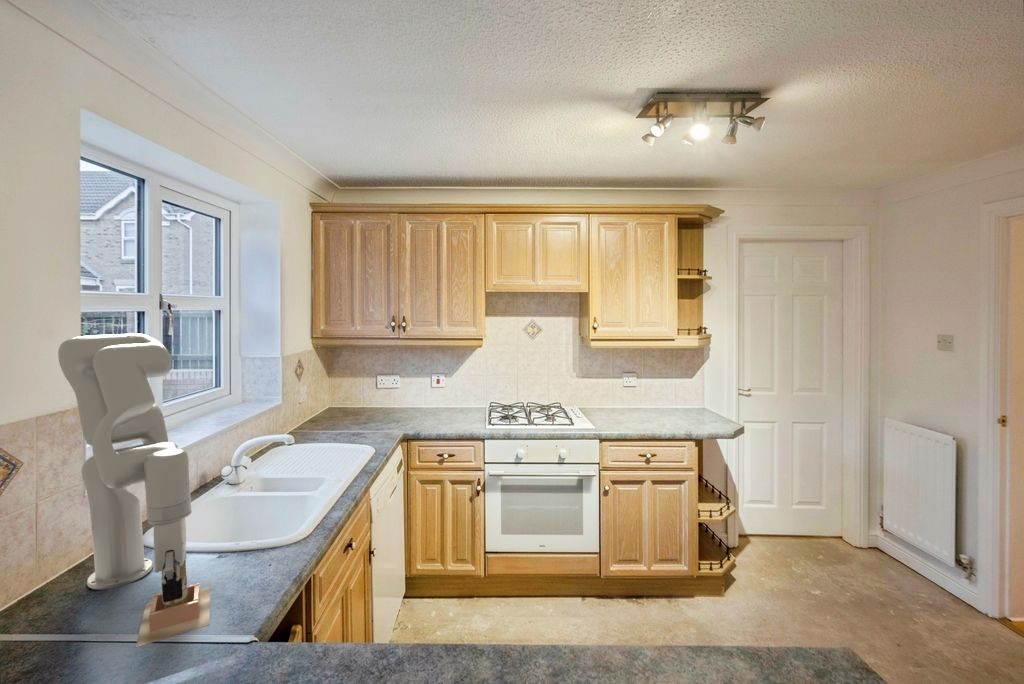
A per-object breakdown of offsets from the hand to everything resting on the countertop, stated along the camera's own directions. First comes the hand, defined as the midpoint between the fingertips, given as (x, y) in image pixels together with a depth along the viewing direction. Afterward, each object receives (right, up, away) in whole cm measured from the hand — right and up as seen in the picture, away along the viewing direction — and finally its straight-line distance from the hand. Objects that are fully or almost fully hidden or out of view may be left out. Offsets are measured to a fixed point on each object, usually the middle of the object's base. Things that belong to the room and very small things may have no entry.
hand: (174, 587), depth 101 cm
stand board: (0, -7, +1) cm, 7 cm away
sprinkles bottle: (0, -6, +1) cm, 6 cm away
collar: (0, -6, 0) cm, 6 cm away
